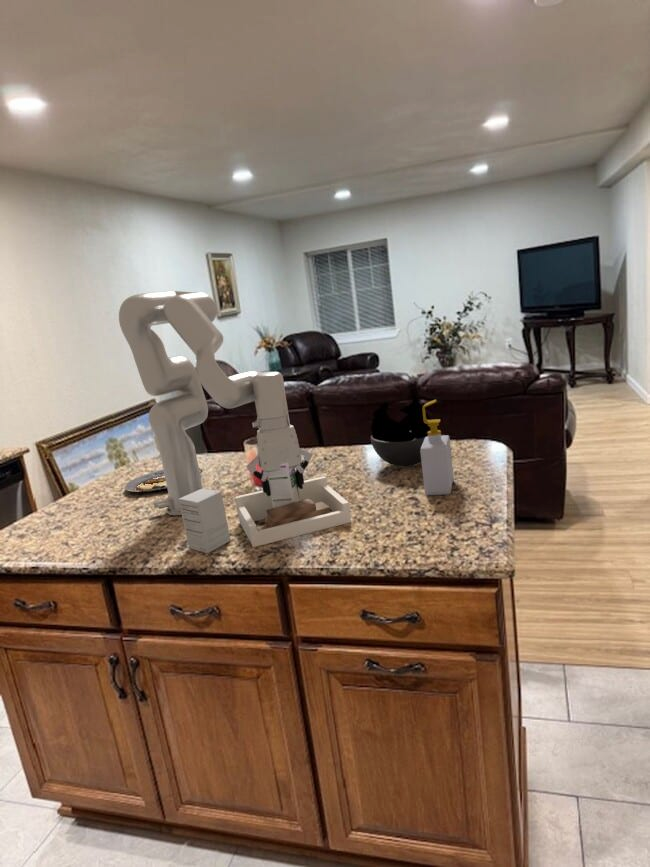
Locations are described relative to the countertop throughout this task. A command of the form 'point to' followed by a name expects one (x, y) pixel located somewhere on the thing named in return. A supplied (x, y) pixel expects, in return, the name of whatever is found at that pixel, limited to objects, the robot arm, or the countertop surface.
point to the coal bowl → (399, 435)
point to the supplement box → (204, 520)
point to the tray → (317, 491)
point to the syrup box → (283, 486)
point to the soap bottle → (436, 459)
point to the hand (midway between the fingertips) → (284, 490)
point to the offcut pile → (294, 513)
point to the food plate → (148, 482)
